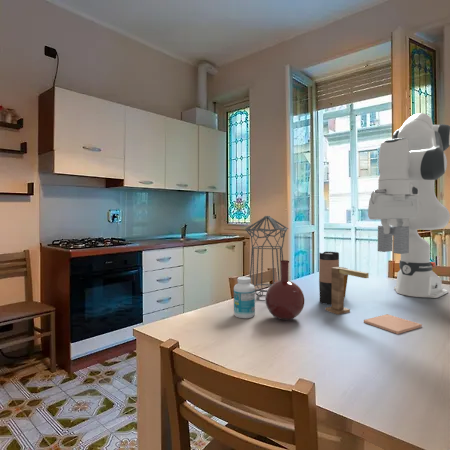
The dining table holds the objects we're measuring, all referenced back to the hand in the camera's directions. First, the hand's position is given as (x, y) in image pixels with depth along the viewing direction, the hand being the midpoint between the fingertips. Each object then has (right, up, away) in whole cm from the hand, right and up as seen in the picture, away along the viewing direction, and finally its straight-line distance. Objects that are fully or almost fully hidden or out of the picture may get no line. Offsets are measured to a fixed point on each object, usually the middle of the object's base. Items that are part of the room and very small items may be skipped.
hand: (393, 233), depth 106 cm
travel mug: (-12, -29, +28) cm, 42 cm away
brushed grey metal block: (0, -6, 0) cm, 6 cm away
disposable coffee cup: (-5, -28, +37) cm, 47 cm away
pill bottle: (-47, -30, +12) cm, 57 cm away
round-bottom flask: (-33, -30, +8) cm, 45 cm away
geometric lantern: (-35, -29, +35) cm, 58 cm away
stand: (-10, -29, +12) cm, 33 cm away
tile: (0, -29, +1) cm, 30 cm away
